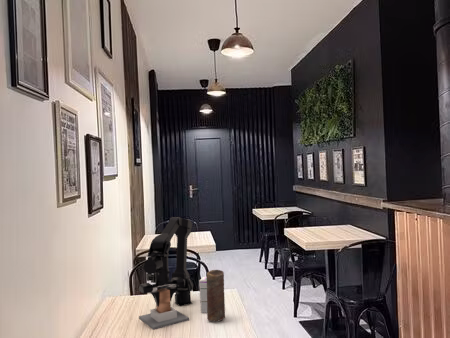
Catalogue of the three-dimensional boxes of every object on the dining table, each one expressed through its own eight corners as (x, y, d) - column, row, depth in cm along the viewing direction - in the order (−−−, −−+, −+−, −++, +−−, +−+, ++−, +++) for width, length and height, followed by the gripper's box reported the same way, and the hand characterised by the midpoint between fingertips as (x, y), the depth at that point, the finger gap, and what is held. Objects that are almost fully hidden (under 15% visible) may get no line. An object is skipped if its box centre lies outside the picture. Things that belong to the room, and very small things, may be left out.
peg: (166, 308, 177) (165, 287, 177) (170, 311, 173) (169, 290, 173) (156, 311, 174) (155, 289, 174) (160, 313, 171) (159, 292, 171)
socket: (173, 310, 185) (172, 301, 185) (189, 320, 171) (188, 310, 171) (139, 318, 176) (138, 309, 176) (153, 329, 163) (152, 319, 163)
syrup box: (213, 313, 178) (212, 279, 178) (200, 313, 179) (198, 279, 180) (216, 308, 184) (215, 276, 184) (203, 308, 185) (202, 276, 185)
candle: (228, 317, 172) (226, 269, 172) (222, 324, 165) (220, 274, 165) (211, 316, 175) (209, 269, 175) (204, 322, 168) (202, 273, 168)
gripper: (173, 261, 186) (175, 296, 185) (133, 268, 176) (135, 305, 176) (184, 265, 176) (186, 302, 176) (143, 273, 166) (144, 312, 166)
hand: (163, 305), depth 174 cm, fingers closed on peg, 4 cm apart
